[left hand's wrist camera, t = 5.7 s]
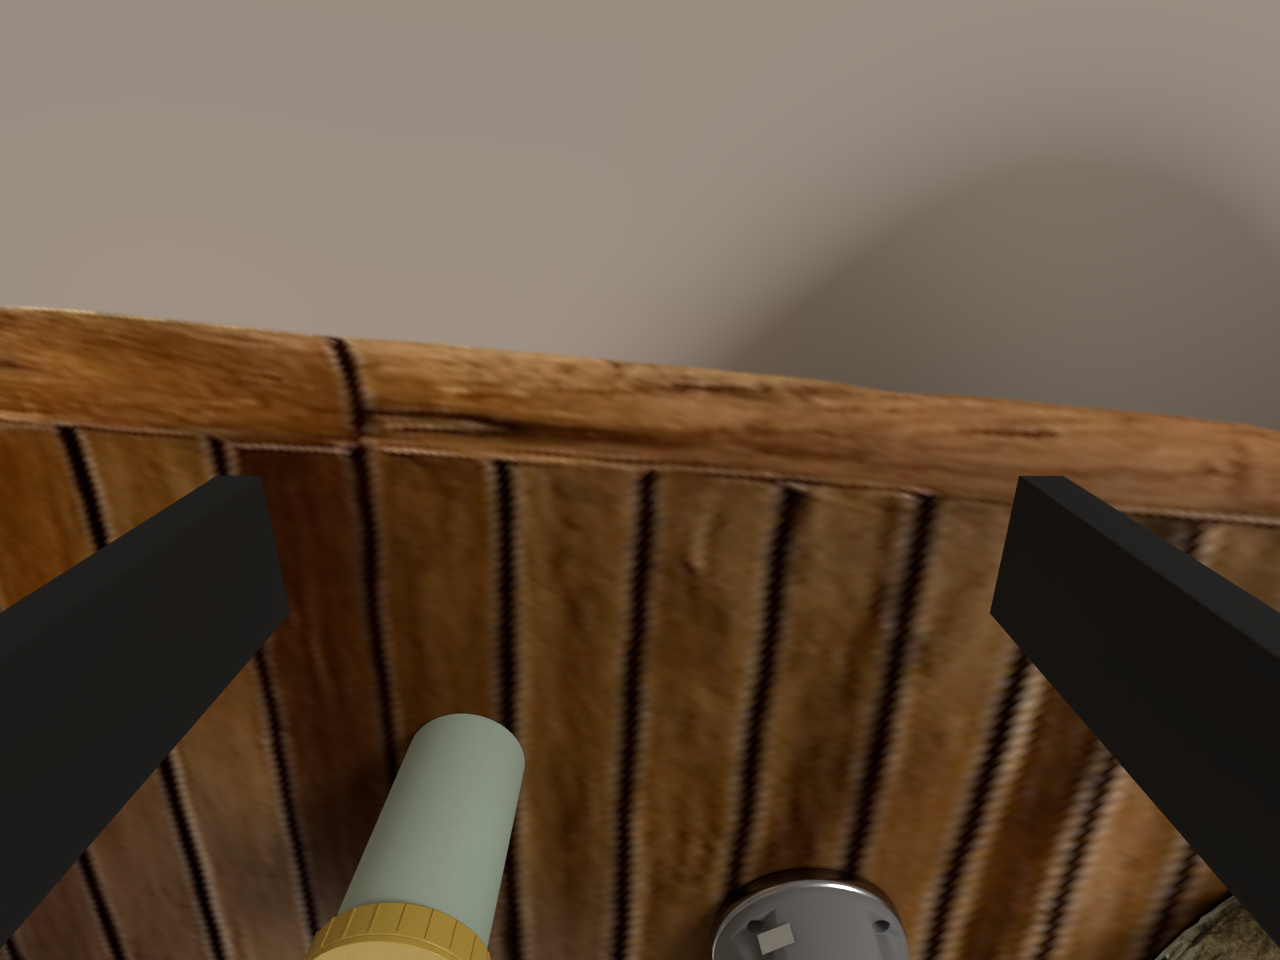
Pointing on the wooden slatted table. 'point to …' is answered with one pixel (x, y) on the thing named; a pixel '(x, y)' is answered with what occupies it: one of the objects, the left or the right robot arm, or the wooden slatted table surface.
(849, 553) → the wooden slatted table surface
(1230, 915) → the fossil
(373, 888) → the jar
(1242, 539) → the wooden slatted table surface
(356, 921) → the lid
